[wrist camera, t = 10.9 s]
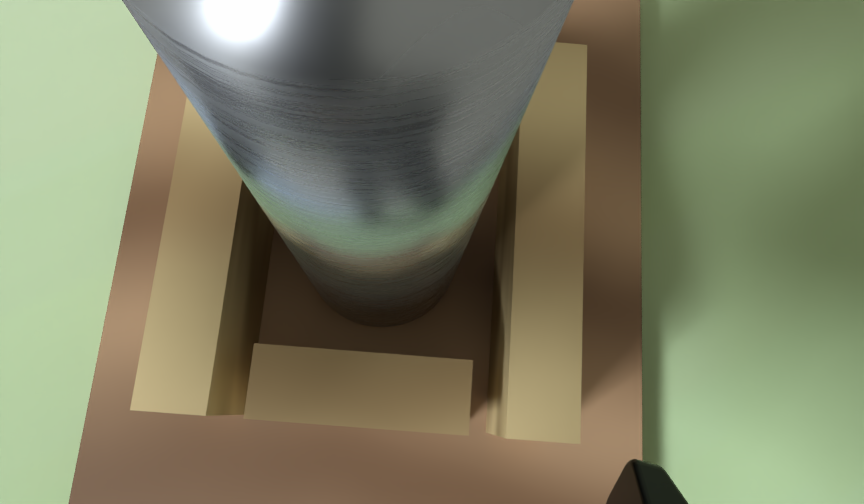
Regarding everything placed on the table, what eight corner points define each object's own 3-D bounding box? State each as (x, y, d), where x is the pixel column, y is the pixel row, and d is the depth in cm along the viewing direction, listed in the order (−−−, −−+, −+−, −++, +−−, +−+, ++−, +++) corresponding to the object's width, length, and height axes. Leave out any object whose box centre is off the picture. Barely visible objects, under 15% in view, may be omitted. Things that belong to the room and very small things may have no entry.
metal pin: (452, 332, 17) (620, 105, 4) (298, 321, 17) (-3, 49, 4) (461, 188, 18) (619, -348, 5) (316, 176, 18) (116, -405, 5)
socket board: (629, 627, 16) (710, 708, 12) (71, 587, 16) (-56, 654, 12) (629, 3, 21) (688, -106, 16) (190, -35, 20) (130, -156, 16)
